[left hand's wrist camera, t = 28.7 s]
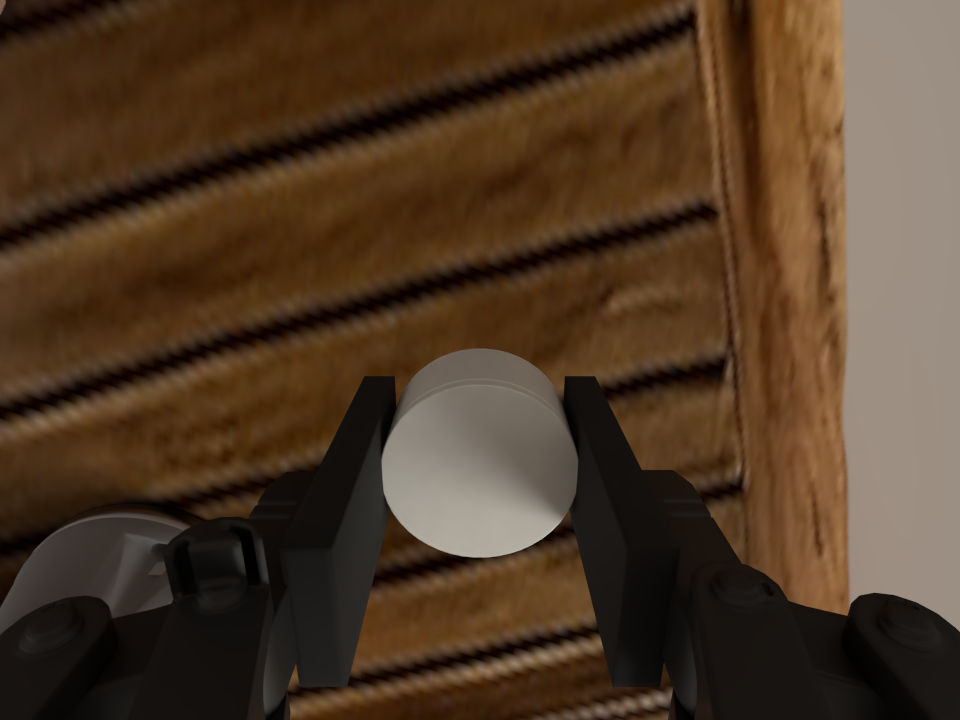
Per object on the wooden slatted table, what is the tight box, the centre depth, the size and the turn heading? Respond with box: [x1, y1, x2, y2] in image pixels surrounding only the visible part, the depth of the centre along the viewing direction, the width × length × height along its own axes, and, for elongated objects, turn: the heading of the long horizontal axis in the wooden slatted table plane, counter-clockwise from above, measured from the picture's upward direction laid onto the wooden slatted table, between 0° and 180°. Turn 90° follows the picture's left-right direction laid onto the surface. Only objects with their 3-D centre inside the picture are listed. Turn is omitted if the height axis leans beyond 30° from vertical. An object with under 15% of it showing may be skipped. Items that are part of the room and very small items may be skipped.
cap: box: [381, 349, 578, 557], centre depth 14 cm, size 4×4×2 cm
